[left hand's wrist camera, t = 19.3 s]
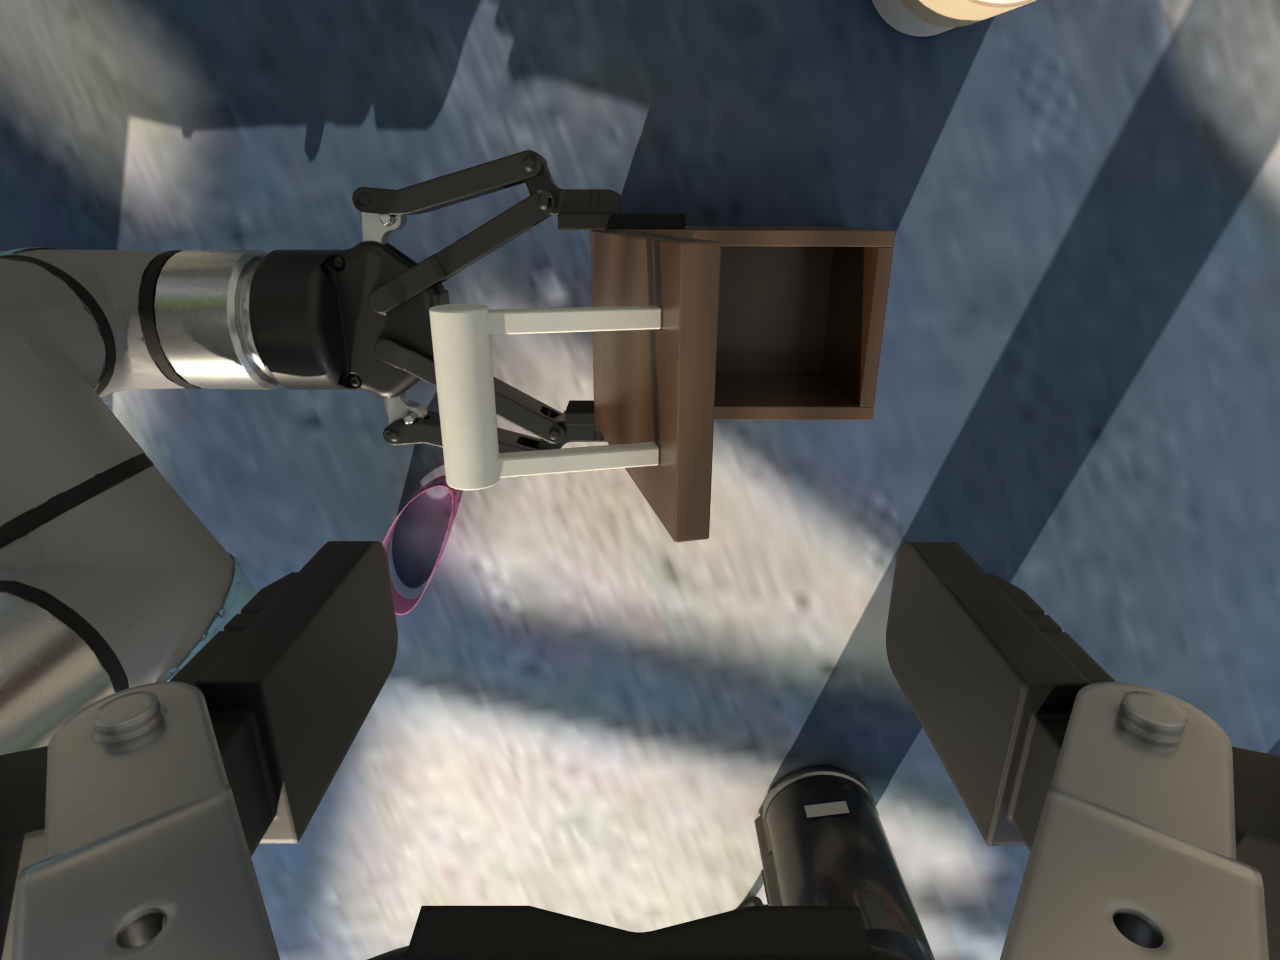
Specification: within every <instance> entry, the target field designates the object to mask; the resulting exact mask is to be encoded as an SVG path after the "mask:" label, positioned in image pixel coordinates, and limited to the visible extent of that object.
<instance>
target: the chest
mask: <svg viewBox="0 0 1280 960" xmlns="http://www.w3.org/2000/svg"><path fill="white" fill-rule="evenodd" d="M605 230H622V231H630V232H639V233H648V234H657V235H666V236H675V237H684V238H693V239H702V240H711V241H719V242H721V260H720V284H719V308H718V332H717V356H716V380H715V404H714V420H872V417H873V409H874V407H873V406H874V401H875V392H876V384H877V376H878V368H879V360H880V352H881V344H882V336H883V328H884V320H885V311H886V303H887V295H888V287H889V279H890V271H891V263H892V255H893V246H894V239H895V230H882V229H868V228H854V227H820V226H685V229H605Z"/></svg>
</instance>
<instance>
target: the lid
mask: <svg viewBox="0 0 1280 960" xmlns="http://www.w3.org/2000/svg"><path fill="white" fill-rule="evenodd" d="M720 260H721V242H719V241H711V240H702V239H693V238H684V237H675V236H666V235H657V234H648V233H639V232H630V231H622V230H591V273H592V307H576V308H539V309H503V310H489V308H488V307H487V306H485V305H480V304H446V305H438V306H434V307H431V308H430V309H429V313H430V324H431V334H432V344H433V354H434V364H435V374H436V384H437V394H438V404H439V414H440V424H441V434H442V444H443V454H444V464H445V474H446V483H447V484H448V486H450V487H452V488H454V489H459V490H479V489H484V488H488V487H491V486H493V485H495V484H497V483H498V482H499V481H500V478H504V477H516V476H529V475H541V474H554V473H566V472H579V471H591V470H603V469H616V468H625V469H626V470H627V472H628V473H629V475H630V476H631V478H632V479H633V481H634V482H635V484H636V485H637V487H638V488H639V490H640V491H641V493H642V494H643V496H644V497H645V499H646V500H647V502H648V503H649V505H650V506H651V507H652V509H653V510H654V512H655V513H656V515H657V516H658V518H659V519H660V521H661V522H662V524H663V525H664V527H665V528H666V530H667V531H668V533H669V534H670V536H671V537H672V539H673V540H674V541H675V542H683V541H692V540H702V539H708V538H709V524H710V500H711V476H712V452H713V428H714V404H715V380H716V356H717V332H718V308H719V284H720ZM587 331H593V373H594V423H595V425H596V426H597V428H598V429H599V431H600V432H601V433H602V435H603V436H604V438H605V439H606V441H607V442H608V444H609V445H606V446H592V447H578V448H565V449H551V450H537V451H523V452H509V453H499V448H498V434H497V420H496V405H495V391H494V377H493V363H492V349H491V335H502V334H530V333H559V332H587Z"/></svg>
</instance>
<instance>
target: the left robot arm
mask: <svg viewBox="0 0 1280 960" xmlns="http://www.w3.org/2000/svg"><path fill="white" fill-rule="evenodd" d="M397 643H398V632H397V623H396V616H395V609H394V602H393V595H392V588H391V581H390V574H389V566H388V559H387V554H386V551H385V548H384V546H383V545H382V543H381V542H379V541H330V542H327V543H326V544H325V545H324V546H323V547H322V548H321V549H320V550H319V551H318V552H317V553H316V554H315V555H314V557H313V558H312V559H311V560H310V561H309V562H308V563H307V564H306V565H305V566H304V567H303V568H302V569H301V570H300V571H299V572H292V573H290V574H288V575H286V576H285V577H283V578H281V579H279V580H277V581H276V582H274V583H272V584H270V585H268V586H267V587H265V588H263V589H261V590H260V591H259V592H258V593H257V594H256V595H255V596H254V597H253V598H252V599H251V600H250V601H249V602H248V603H247V604H246V605H245V606H244V607H243V608H242V609H241V613H240V614H236V615H235V616H234V617H233V618H232V619H231V620H230V621H229V622H228V623H227V624H226V625H225V626H224V631H219V632H218V633H217V634H216V635H215V636H214V637H213V638H212V639H211V640H210V641H209V642H208V643H207V644H206V645H205V646H204V647H203V648H202V649H201V650H200V651H199V652H198V653H197V654H196V655H195V656H194V657H193V658H192V659H191V660H190V661H189V662H188V663H187V664H186V665H185V666H184V667H183V668H182V669H181V670H180V671H179V672H178V673H177V674H176V675H175V676H174V677H173V678H172V679H171V680H170V681H169V682H157V683H149V684H144V685H139V686H136V687H132V688H128V689H125V690H122V691H119V692H116V693H114V694H111V695H109V696H107V697H104V698H102V699H100V700H98V701H96V702H94V703H92V704H90V705H88V706H87V707H85V708H83V709H82V710H80V711H79V712H77V713H76V714H74V715H73V716H72V717H70V718H69V719H68V720H67V721H66V722H65V723H63V724H62V725H61V726H60V727H59V728H58V730H57V731H56V732H55V733H54V735H53V736H52V738H51V740H50V742H49V746H44V747H39V748H34V749H29V750H24V751H19V752H14V753H9V754H4V755H0V960H280V958H279V954H278V951H277V947H276V944H275V940H274V937H273V933H272V930H271V926H270V923H269V919H268V916H267V912H266V908H265V905H264V901H263V898H262V894H261V891H260V887H259V884H258V880H257V877H256V873H255V870H254V866H253V863H252V859H251V856H252V855H253V853H254V851H255V850H256V848H257V846H258V845H259V843H298V842H299V840H300V838H301V836H302V835H303V833H304V831H305V829H306V827H307V825H308V824H309V822H310V820H311V818H312V816H313V814H314V812H315V811H316V809H317V807H318V805H319V803H320V801H321V800H322V798H323V796H324V794H325V792H326V790H327V789H328V787H329V785H330V783H331V781H332V779H333V777H334V776H335V774H336V772H337V770H338V768H339V766H340V765H341V763H342V761H343V759H344V757H345V755H346V753H347V752H348V750H349V748H350V746H351V744H352V742H353V741H354V739H355V737H356V735H357V733H358V731H359V729H360V728H361V726H362V724H363V722H364V720H365V718H366V717H367V715H368V713H369V711H370V709H371V707H372V705H373V704H374V702H375V700H376V698H377V696H378V694H379V693H380V691H381V689H382V687H383V685H384V683H385V681H386V680H387V678H388V676H389V674H390V672H391V670H392V668H393V665H394V662H395V658H396V652H397ZM886 648H887V655H888V660H889V664H890V667H891V670H892V672H893V674H894V676H895V678H896V679H897V681H898V683H899V685H900V687H901V689H902V690H903V692H904V694H905V696H906V698H907V699H908V701H909V703H910V705H911V707H912V709H913V710H914V712H915V714H916V716H917V718H918V720H919V721H920V723H921V725H922V727H923V729H924V730H925V732H926V734H927V736H928V738H929V740H930V741H931V743H932V745H933V747H934V749H935V750H936V752H937V754H938V756H939V758H940V760H941V761H942V763H943V765H944V767H945V769H946V771H947V772H948V774H949V776H950V778H951V780H952V781H953V783H954V785H955V787H956V789H957V791H958V792H959V794H960V796H961V798H962V800H963V802H964V803H965V805H966V807H967V809H968V811H969V812H970V814H971V816H972V818H973V820H974V822H975V823H976V825H977V827H978V829H979V831H980V833H981V834H982V836H983V838H984V840H985V842H986V843H987V845H988V846H1027V847H1028V849H1029V850H1030V856H1029V859H1028V863H1027V866H1026V870H1025V873H1024V877H1023V880H1022V884H1021V887H1020V891H1019V894H1018V898H1017V901H1016V905H1015V908H1014V912H1013V916H1012V919H1011V923H1010V926H1009V930H1008V933H1007V937H1006V940H1005V944H1004V947H1003V951H1002V954H1001V958H1000V960H1280V756H1276V755H1271V754H1266V753H1261V752H1256V751H1251V750H1246V749H1241V748H1236V747H1232V746H1231V742H1230V740H1229V738H1228V736H1227V735H1226V733H1225V732H1224V731H1223V730H1222V728H1221V727H1220V726H1219V725H1218V724H1217V723H1215V722H1214V721H1213V720H1212V719H1211V718H1210V717H1208V716H1207V715H1206V714H1204V713H1203V712H1201V711H1200V710H1198V709H1197V708H1195V707H1193V706H1192V705H1190V704H1188V703H1186V702H1184V701H1182V700H1180V699H1178V698H1176V697H1173V696H1171V695H1169V694H1166V693H1164V692H1161V691H1158V690H1155V689H1152V688H1148V687H1144V686H1141V685H1136V684H1131V683H1123V682H1116V681H1115V680H1114V679H1113V678H1112V677H1111V676H1110V675H1108V674H1107V673H1106V672H1105V671H1104V670H1103V669H1102V668H1101V667H1100V666H1099V665H1098V664H1097V663H1096V662H1095V661H1094V660H1093V659H1092V658H1091V657H1090V656H1089V655H1088V654H1087V653H1086V652H1085V651H1084V650H1083V649H1082V648H1081V647H1080V646H1079V645H1078V644H1077V643H1076V642H1075V641H1074V640H1073V639H1072V638H1071V637H1070V636H1069V635H1068V634H1067V633H1066V632H1062V631H1061V627H1060V626H1059V625H1058V624H1057V623H1056V622H1055V621H1054V620H1053V619H1052V618H1051V617H1050V616H1049V615H1044V610H1043V609H1042V608H1041V607H1040V606H1039V605H1038V604H1037V603H1036V602H1035V601H1034V600H1033V599H1032V598H1031V597H1030V596H1028V595H1027V594H1026V593H1025V592H1024V591H1023V590H1021V589H1020V588H1018V587H1016V586H1014V585H1012V584H1010V583H1009V582H1007V581H1005V580H1003V579H1001V578H1000V577H998V576H996V575H994V574H986V573H985V572H984V571H983V570H982V569H981V568H980V567H979V565H978V564H977V563H976V562H975V561H974V560H973V559H972V558H971V557H970V556H969V555H968V554H967V553H966V552H965V551H964V550H963V549H962V548H961V547H960V546H959V545H958V544H957V543H955V542H905V543H903V544H902V546H901V547H900V549H899V552H898V555H897V560H896V567H895V574H894V581H893V588H892V595H891V602H890V609H889V616H888V623H887V630H886ZM755 827H756V832H757V838H758V843H759V848H760V854H761V859H762V864H763V870H762V876H763V881H764V887H765V892H766V898H767V903H768V904H767V905H763V903H762V901H761V899H760V898H758V897H751V898H749V899H748V900H746V901H745V902H744V903H743V904H742V905H741V906H740V907H739V908H738V909H737V910H733V911H729V912H725V913H721V914H717V915H713V916H709V917H705V918H702V919H698V920H694V921H690V922H686V923H682V924H678V925H674V926H670V927H666V928H662V929H659V930H655V931H650V932H630V931H625V930H621V929H618V928H614V927H610V926H606V925H602V924H598V923H594V922H590V921H586V920H582V919H578V918H575V917H571V916H567V915H563V914H559V913H555V912H551V911H547V910H543V909H539V908H535V907H531V906H422V907H421V910H420V913H419V916H418V919H417V923H416V926H415V929H414V932H413V935H412V938H411V942H410V945H409V946H406V947H402V948H398V949H395V950H392V951H389V952H387V953H384V954H381V955H378V956H376V957H373V958H370V959H368V960H935V959H934V956H933V954H932V951H931V949H930V946H929V943H928V941H927V938H926V936H925V933H924V931H923V928H922V926H921V923H920V921H919V918H918V915H917V913H916V910H915V908H914V905H913V903H912V900H911V898H910V895H909V893H908V890H907V887H906V885H905V882H904V880H903V877H902V875H901V872H900V870H899V867H898V865H897V862H896V859H895V857H894V854H893V852H892V849H891V847H890V844H889V842H888V839H887V837H886V834H885V831H884V829H883V826H882V824H881V821H880V819H879V816H878V812H877V809H876V807H875V803H874V800H873V798H872V795H871V793H870V791H869V789H868V787H867V786H866V784H865V783H864V782H863V781H862V780H861V779H860V778H858V777H857V776H855V775H854V774H852V773H850V772H848V771H845V770H842V769H839V768H834V767H811V768H806V769H802V770H799V771H796V772H794V773H791V774H789V775H788V776H786V777H784V778H783V779H781V780H780V781H779V782H778V783H776V784H775V785H774V786H773V787H772V789H771V790H770V791H769V793H768V794H767V796H766V798H765V800H764V803H763V808H762V814H761V815H760V817H758V818H757V819H756V820H755Z"/></svg>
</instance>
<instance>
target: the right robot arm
mask: <svg viewBox="0 0 1280 960" xmlns="http://www.w3.org/2000/svg"><path fill="white" fill-rule="evenodd" d="M522 183H526V185H527V187H528V190H529V193H530V195H531V196H529V197H527V198H526V199H524V200H522V201H521V202H519V203H518V204H516V205H514V206H513V207H511V208H510V209H508V210H506V211H505V212H503V213H501V214H500V215H498V216H497V217H495V218H493V219H492V220H490V221H488V222H487V223H485V224H484V225H482V226H480V227H479V228H477V229H476V230H474V231H472V232H471V233H469V234H467V235H466V236H464V237H463V238H461V239H459V240H458V241H456V242H454V243H453V244H451V245H450V246H448V247H446V248H445V249H443V250H441V251H440V252H438V253H436V254H434V255H432V256H430V257H429V258H427V259H425V260H424V261H422V262H420V263H419V264H417V263H416V262H414V261H413V260H412V259H410V258H409V257H407V256H406V255H404V254H403V253H402V252H400V251H399V250H397V249H396V248H395V247H393V246H392V245H390V244H389V243H387V240H388V236H389V234H390V233H391V232H393V231H395V230H400V229H402V228H403V227H404V226H405V224H406V220H407V216H406V215H413V214H421V213H425V212H429V211H433V210H436V209H439V208H443V207H446V206H449V205H453V204H456V203H459V202H463V201H466V200H469V199H472V198H476V197H479V196H482V195H486V194H489V193H492V192H496V191H499V190H502V189H506V188H509V187H512V186H516V185H519V184H522ZM352 199H353V204H354V205H355V207H356V208H357V209H358V210H359V211H361V212H362V231H363V242H361V243H359V244H358V245H356V246H355V247H353V248H351V249H348V250H274V251H272V252H270V253H269V254H267V253H265V252H263V251H261V250H181V251H168V252H167V251H130V250H66V249H65V248H55V247H34V248H19V249H12V250H9V251H0V755H4V754H9V753H14V752H19V751H24V750H29V749H34V748H39V747H44V746H49V742H50V740H51V738H52V736H53V735H54V733H55V732H56V731H57V730H58V728H59V727H60V726H61V725H62V724H63V723H65V722H66V721H67V720H68V719H69V718H70V717H72V716H73V715H74V714H76V713H77V712H79V711H80V710H82V709H83V708H85V707H87V706H88V705H90V704H92V703H94V702H96V701H98V700H100V699H102V698H104V697H107V696H109V695H111V694H114V693H116V692H119V691H122V690H125V689H128V688H132V687H136V686H139V685H144V684H149V683H157V682H169V681H170V680H171V679H172V678H173V677H174V676H175V675H176V674H177V673H178V672H179V671H180V670H181V669H182V668H183V667H184V666H185V665H186V664H187V663H188V662H189V661H190V660H191V659H192V658H193V657H194V656H195V655H196V654H197V653H198V652H199V651H200V650H201V649H202V648H203V647H204V646H205V645H206V644H207V643H208V642H209V641H210V640H211V639H212V638H213V637H214V636H215V635H216V634H217V633H218V632H219V631H224V626H225V625H226V624H227V623H228V622H229V621H230V620H231V619H232V618H233V617H234V616H235V615H236V614H240V613H241V609H242V608H243V607H244V606H245V605H246V604H247V603H248V602H249V601H250V600H251V599H252V598H253V597H254V596H255V595H256V594H257V593H258V592H257V591H256V589H255V588H254V587H253V585H252V584H251V582H250V581H249V579H248V578H247V577H246V575H245V574H244V572H243V571H242V569H241V567H240V564H239V562H238V561H237V559H236V558H235V557H234V556H233V555H231V554H230V553H227V551H226V550H225V549H224V548H223V547H222V546H221V544H220V543H219V542H218V541H217V540H216V538H215V537H214V536H213V535H212V534H211V533H210V531H209V530H208V529H207V528H206V527H205V526H204V524H203V523H202V522H201V521H200V520H199V518H198V517H197V516H196V515H195V514H194V513H193V511H192V510H191V509H190V508H189V507H188V505H187V504H186V503H185V502H184V501H183V500H182V498H181V497H180V496H179V495H178V494H177V493H176V491H175V490H174V489H173V488H172V487H171V485H170V484H169V483H168V482H167V481H166V480H165V478H164V477H163V476H162V475H161V474H160V472H159V471H158V470H157V469H156V468H155V467H154V465H153V463H152V462H151V460H150V459H149V458H148V457H147V456H146V454H145V452H144V451H143V450H142V449H141V447H140V446H139V445H138V444H137V442H136V441H135V440H134V439H133V437H132V436H131V435H130V434H129V433H128V431H127V430H126V429H125V428H124V426H123V425H122V424H121V423H120V422H119V420H118V419H117V418H116V417H115V415H114V414H113V413H112V412H111V410H110V409H109V408H108V407H107V406H106V404H105V403H104V402H103V401H102V399H101V398H100V397H103V396H106V395H109V394H111V393H114V392H119V391H125V390H133V389H167V388H201V389H203V388H206V389H270V390H272V389H276V388H279V387H281V386H284V387H286V388H289V389H362V390H366V391H370V392H372V393H374V394H376V395H378V396H380V397H383V400H384V405H385V409H386V414H387V419H388V424H389V426H387V427H386V428H385V429H384V432H383V436H384V439H385V440H386V441H387V442H388V443H389V444H391V445H406V444H419V443H426V444H430V445H434V446H438V447H442V448H443V444H442V434H441V424H440V414H439V413H435V412H427V410H426V408H425V407H424V406H423V405H422V404H420V403H415V402H412V401H410V400H409V399H408V398H407V397H406V394H405V391H406V390H408V389H409V388H410V387H412V386H413V385H414V384H415V383H417V382H418V381H419V380H421V379H422V380H424V381H426V382H427V383H429V384H431V385H433V386H435V387H437V384H436V374H435V364H434V354H433V344H432V334H431V324H430V313H429V309H430V308H431V307H434V306H438V305H446V304H449V296H448V291H445V289H444V287H443V285H442V282H444V281H446V280H447V279H449V278H451V277H452V276H454V275H456V274H457V273H459V272H460V271H461V270H463V269H464V268H466V267H468V266H469V265H471V264H473V263H474V262H476V261H478V260H479V259H481V258H483V257H484V256H486V255H488V254H489V253H491V252H492V251H494V250H496V249H497V248H499V247H501V246H502V245H504V244H506V243H507V242H509V241H511V240H512V239H514V238H515V237H517V236H519V235H520V234H522V233H524V232H525V231H527V230H529V229H530V228H532V227H534V226H535V225H537V224H538V223H540V222H542V221H543V220H545V219H547V218H548V217H550V216H552V215H558V229H685V219H686V214H620V194H619V193H616V192H614V191H612V190H564V189H560V188H558V187H557V186H556V185H555V184H554V182H553V180H552V177H551V175H550V172H549V169H548V167H547V162H546V160H545V158H543V157H542V156H541V155H539V154H538V153H536V152H534V151H531V150H528V151H523V152H520V153H517V154H513V155H510V156H507V157H504V158H500V159H497V160H494V161H491V162H487V163H484V164H481V165H477V166H474V167H471V168H468V169H464V170H461V171H458V172H455V173H451V174H448V175H445V176H442V177H438V178H435V179H432V180H428V181H425V182H422V183H419V184H415V185H412V186H409V187H406V188H402V189H399V190H390V189H378V188H367V187H361V188H358V189H356V190H355V192H354V193H353V198H352ZM494 391H495V405H496V415H497V416H499V417H501V418H503V419H505V420H507V421H509V422H511V423H513V424H515V425H516V426H518V427H520V428H522V429H524V430H526V431H528V432H530V433H532V434H534V435H536V436H538V437H540V438H541V439H539V438H535V437H531V436H528V435H524V434H520V433H516V432H512V431H509V430H505V429H501V428H497V434H498V448H499V453H509V452H523V451H537V450H551V449H561V447H562V446H563V445H564V444H566V443H568V442H595V441H596V442H602V441H603V442H607V441H606V439H605V438H604V436H603V435H602V433H601V432H600V431H599V429H598V428H597V426H596V425H595V423H594V401H569V403H568V406H567V409H566V411H564V413H561V412H559V411H557V410H555V409H553V408H551V407H550V406H548V405H546V404H544V403H542V402H540V401H538V400H536V399H534V398H533V397H531V396H529V395H527V394H525V393H523V392H521V391H519V390H518V389H516V388H514V387H512V386H510V385H508V384H506V383H504V382H502V381H501V380H499V379H497V378H495V377H494Z"/></svg>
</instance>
